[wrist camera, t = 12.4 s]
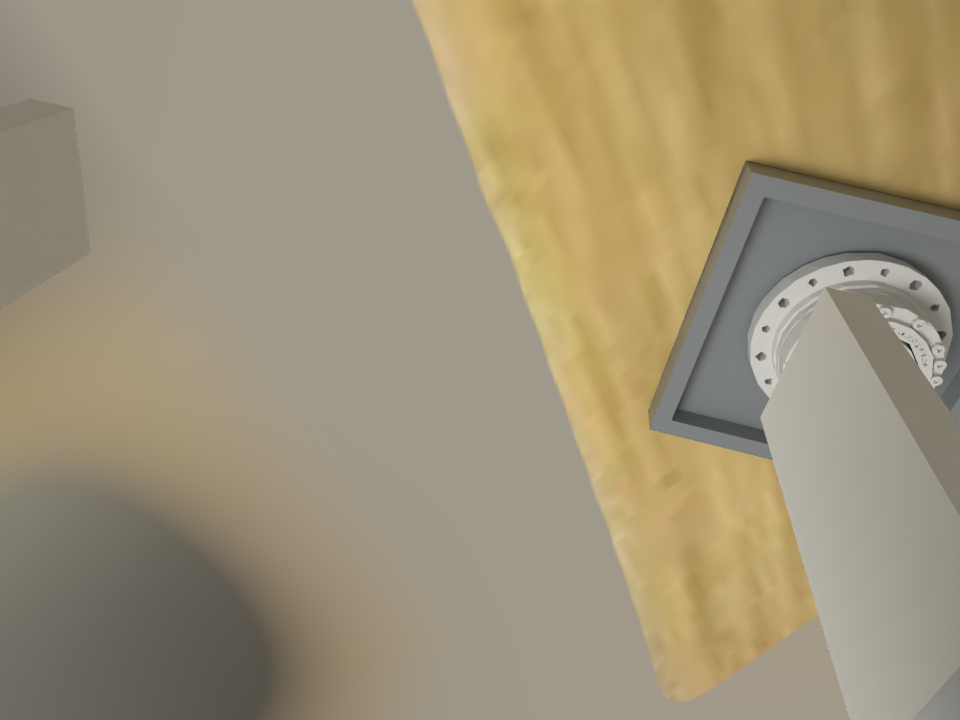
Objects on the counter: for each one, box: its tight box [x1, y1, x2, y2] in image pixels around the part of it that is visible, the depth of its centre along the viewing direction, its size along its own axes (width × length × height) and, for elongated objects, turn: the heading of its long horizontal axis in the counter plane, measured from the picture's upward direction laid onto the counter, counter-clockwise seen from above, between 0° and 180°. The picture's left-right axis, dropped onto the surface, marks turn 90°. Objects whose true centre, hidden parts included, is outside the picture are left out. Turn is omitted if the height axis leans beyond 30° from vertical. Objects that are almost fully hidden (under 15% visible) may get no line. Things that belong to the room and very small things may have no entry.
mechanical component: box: [747, 253, 953, 398], centre depth 38 cm, size 10×4×10 cm
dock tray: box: [648, 161, 960, 460], centre depth 40 cm, size 16×16×2 cm
